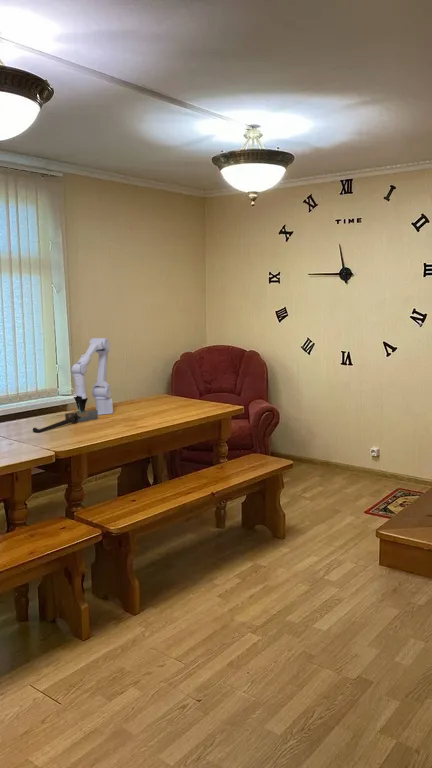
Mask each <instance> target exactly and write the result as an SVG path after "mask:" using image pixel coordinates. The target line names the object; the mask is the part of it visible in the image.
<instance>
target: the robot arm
mask: <svg viewBox="0 0 432 768" xmlns="http://www.w3.org/2000/svg"><path fill="white" fill-rule="evenodd" d="M110 344H111V342H110V340H109V339H108V338H107V337H91V339H90V340H89V346H88V348H87V350H86V352H85V354H81V356H80V358H79V359H78V360H77V362H76V363H74V364H73V365H72V367H71V373H72V378H73V382H74V383H73V384H74V393H73V394H72V396H73V398H74V400H75V403H76V407H77V411H79V407H80V411H86V410H85V409H86V405H87V402H88V399H89V398H88V397H87V393H86V392H87V391H86V377H85V376H86V373H87V371H88V370H87V369H88V367H89V364H90V363H91V361H92V356H93V355H94V354H95V353H97V354H98V362H97V376H96V377H97V379H96V382H94V384H93V386H92V389H91V395H92V397H93V398H94V399H95V410H98V416H101V415H108V414H110V415H111V414H114V407H113V406H114V404H113V399H112V397H111V395H112V391H111V384H109V383H108V382H107V375H108V359H109V358H108V357H109V353H110V346H111V345H110ZM78 403H79V405H78Z"/></svg>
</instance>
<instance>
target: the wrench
mask: <svg viewBox="0 0 432 768" xmlns="http://www.w3.org/2000/svg"><path fill="white" fill-rule="evenodd" d="M74 418H75V419H74ZM80 418H81V417H78V416H77V414H73V415H72V416H71V417H70V418H68V419H66V420H65V419H64V420H61V421H58V422H56V423H53V424H50V425H48V426H45V427H42V428H37V427H33V428H32V432H33V433H37V434H38V433H43V432H46V431H49V430H52V429H56V428H59V427H62V426H65V425H69V424H77V423H78V422H77V421H78V419H80Z"/></svg>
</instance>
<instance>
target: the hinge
mask: <svg viewBox="0 0 432 768" xmlns="http://www.w3.org/2000/svg"><path fill="white" fill-rule="evenodd" d="M73 414H77V416H78V417H81V418H80V419H78V421H77V423H83V422H89V421H92V420H98V419H99V415H98V410H96V409H94V410H93V409H92V410H85V412H82V413H79V410H77V411H74V412H66V413H64V417H65V418H64V420H66V419H68V418H70V417H71V416H72V415H73ZM74 419H75V418H74Z"/></svg>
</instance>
